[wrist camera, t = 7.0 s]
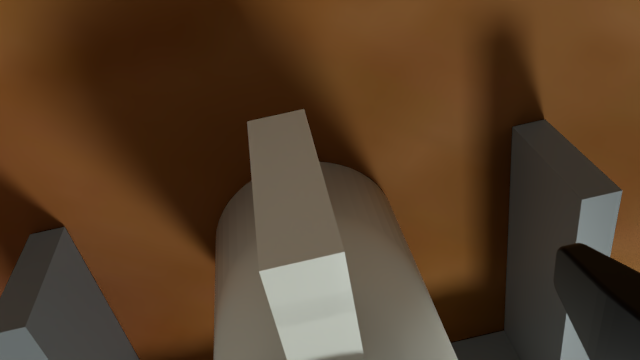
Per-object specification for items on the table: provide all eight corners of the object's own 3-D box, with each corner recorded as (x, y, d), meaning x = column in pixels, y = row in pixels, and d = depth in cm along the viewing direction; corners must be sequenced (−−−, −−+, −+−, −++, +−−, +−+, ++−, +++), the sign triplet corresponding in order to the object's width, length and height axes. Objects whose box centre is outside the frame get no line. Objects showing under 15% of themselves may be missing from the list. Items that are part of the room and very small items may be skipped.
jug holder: (30, 234, 19) (-19, 336, 15) (544, 119, 19) (622, 190, 16) (150, 430, 26) (138, 533, 22) (527, 341, 26) (578, 427, 22)
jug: (400, 281, 23) (487, 505, 15) (241, 318, 22) (249, 563, 15) (375, 56, 17) (493, 237, 10) (161, 102, 17) (113, 324, 9)
